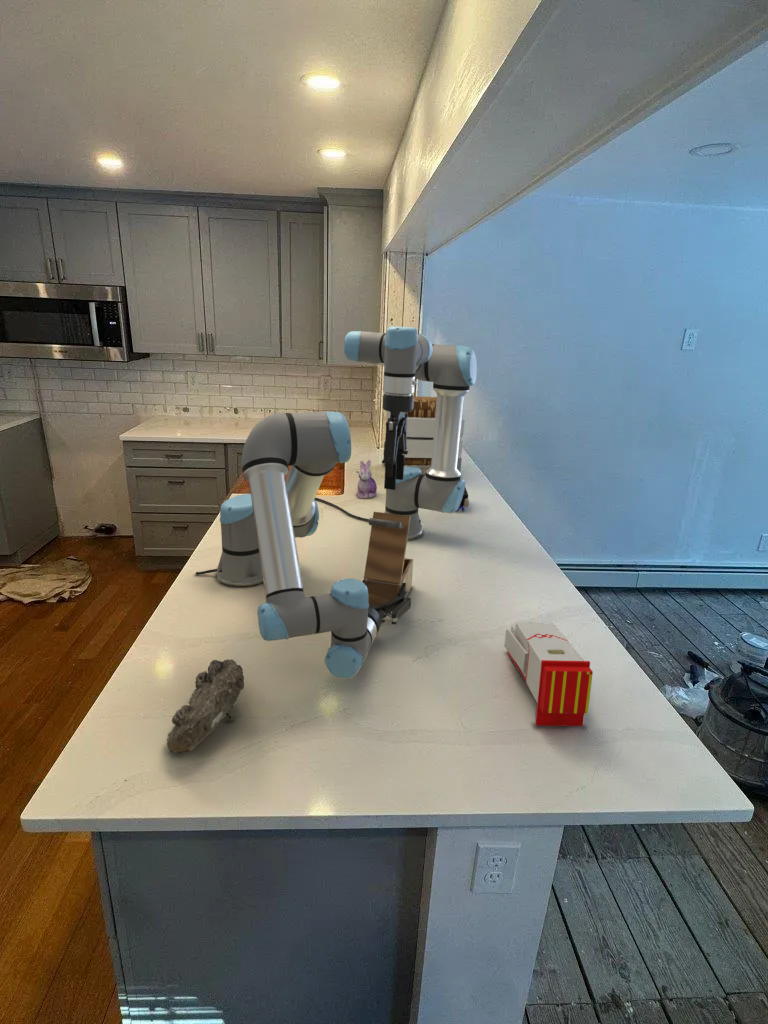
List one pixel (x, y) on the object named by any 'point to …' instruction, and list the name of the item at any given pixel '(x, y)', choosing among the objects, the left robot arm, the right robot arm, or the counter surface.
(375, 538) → the lid
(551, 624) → the toy
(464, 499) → the figurine character
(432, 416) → the wooden drawer cabinet
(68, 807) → the counter surface
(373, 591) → the chest
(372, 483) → the figurine
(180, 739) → the fossil
